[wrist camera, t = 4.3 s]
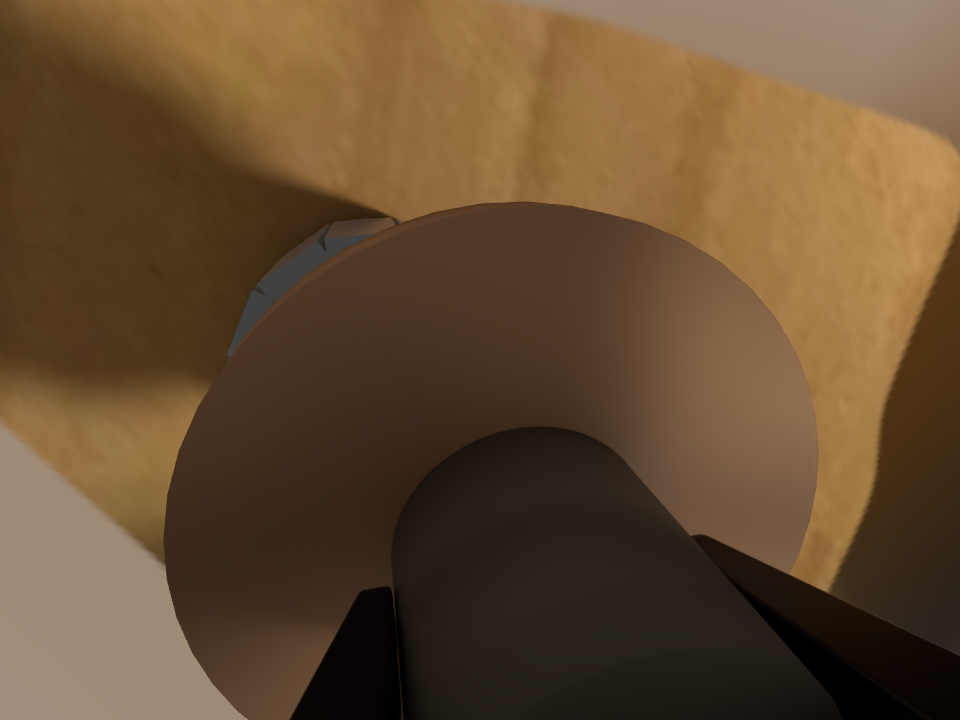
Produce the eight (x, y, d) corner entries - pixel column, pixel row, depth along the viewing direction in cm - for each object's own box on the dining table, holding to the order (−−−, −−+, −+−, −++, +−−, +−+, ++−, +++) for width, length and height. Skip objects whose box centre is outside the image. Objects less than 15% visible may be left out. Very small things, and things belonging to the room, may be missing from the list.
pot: (486, 409, 21) (522, 479, 16) (284, 437, 20) (260, 520, 15) (473, 209, 18) (510, 222, 14) (244, 227, 17) (200, 248, 13)
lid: (755, 665, 12) (1000, 977, 7) (266, 789, 11) (192, 1274, 6) (802, 168, 9) (1308, 174, 4) (91, 246, 7) (-397, 400, 3)
